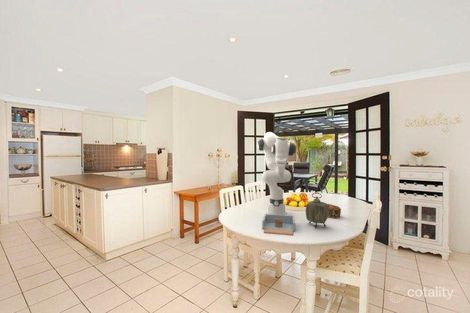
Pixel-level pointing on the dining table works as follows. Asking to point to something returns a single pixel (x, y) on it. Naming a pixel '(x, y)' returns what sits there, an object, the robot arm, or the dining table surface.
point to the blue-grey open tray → (286, 224)
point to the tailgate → (278, 231)
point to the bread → (333, 211)
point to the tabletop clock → (316, 211)
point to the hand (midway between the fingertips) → (281, 179)
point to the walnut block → (278, 222)
